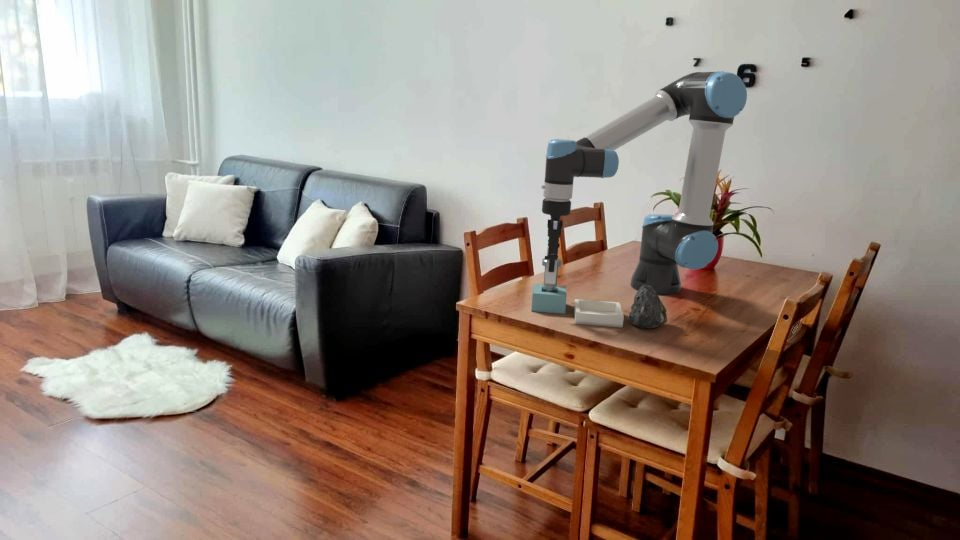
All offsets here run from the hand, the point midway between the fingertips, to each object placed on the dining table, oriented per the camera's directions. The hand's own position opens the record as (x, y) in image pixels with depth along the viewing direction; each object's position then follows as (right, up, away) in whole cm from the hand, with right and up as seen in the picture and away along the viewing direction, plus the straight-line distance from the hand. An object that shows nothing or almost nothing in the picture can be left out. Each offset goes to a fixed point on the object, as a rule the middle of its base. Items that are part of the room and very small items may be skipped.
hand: (550, 276), depth 183 cm
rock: (+25, -13, -9) cm, 29 cm away
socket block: (0, -8, +2) cm, 9 cm away
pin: (0, -8, +2) cm, 9 cm away
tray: (+12, -11, -5) cm, 17 cm away
